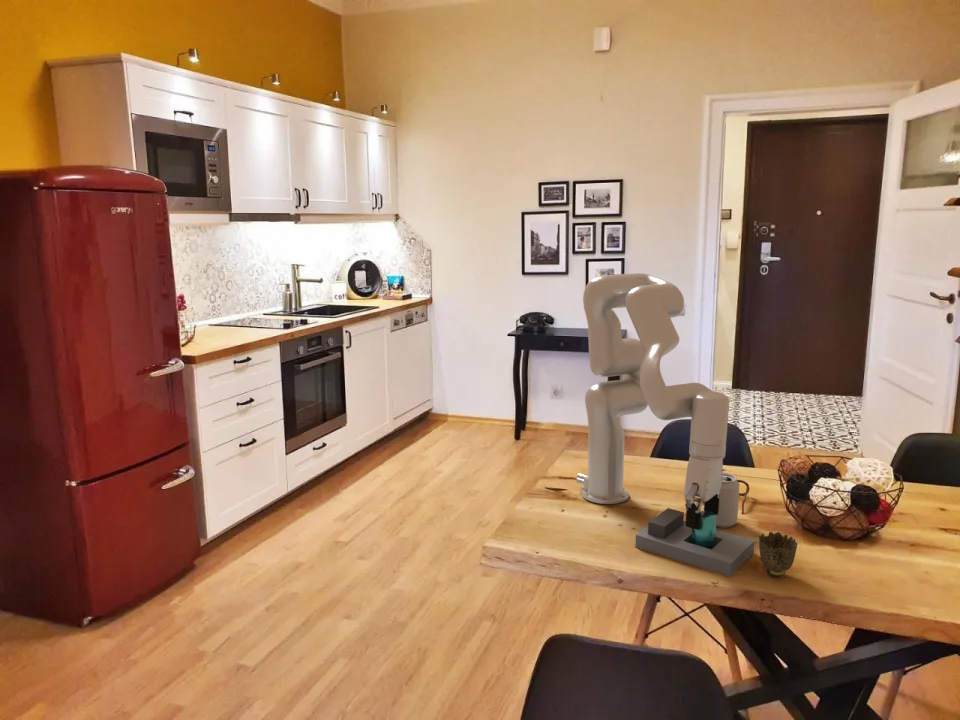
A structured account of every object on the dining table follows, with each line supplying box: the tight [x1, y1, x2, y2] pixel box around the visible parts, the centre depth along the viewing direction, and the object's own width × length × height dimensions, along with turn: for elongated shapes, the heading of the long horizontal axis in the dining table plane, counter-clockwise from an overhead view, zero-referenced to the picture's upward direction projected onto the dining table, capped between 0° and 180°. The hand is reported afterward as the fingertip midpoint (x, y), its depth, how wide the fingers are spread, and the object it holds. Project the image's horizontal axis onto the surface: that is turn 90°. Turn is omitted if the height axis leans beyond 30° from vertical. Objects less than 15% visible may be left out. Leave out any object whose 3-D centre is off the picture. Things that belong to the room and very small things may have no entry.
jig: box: [634, 507, 756, 578], centre depth 160 cm, size 22×14×6 cm, turn 50°
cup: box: [758, 531, 798, 578], centre depth 148 cm, size 8×7×8 cm
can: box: [716, 472, 740, 529], centre depth 173 cm, size 8×8×12 cm
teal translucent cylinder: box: [691, 509, 717, 550], centre depth 158 cm, size 5×5×9 cm
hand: (702, 520), depth 158 cm, fingers open, 9 cm apart
